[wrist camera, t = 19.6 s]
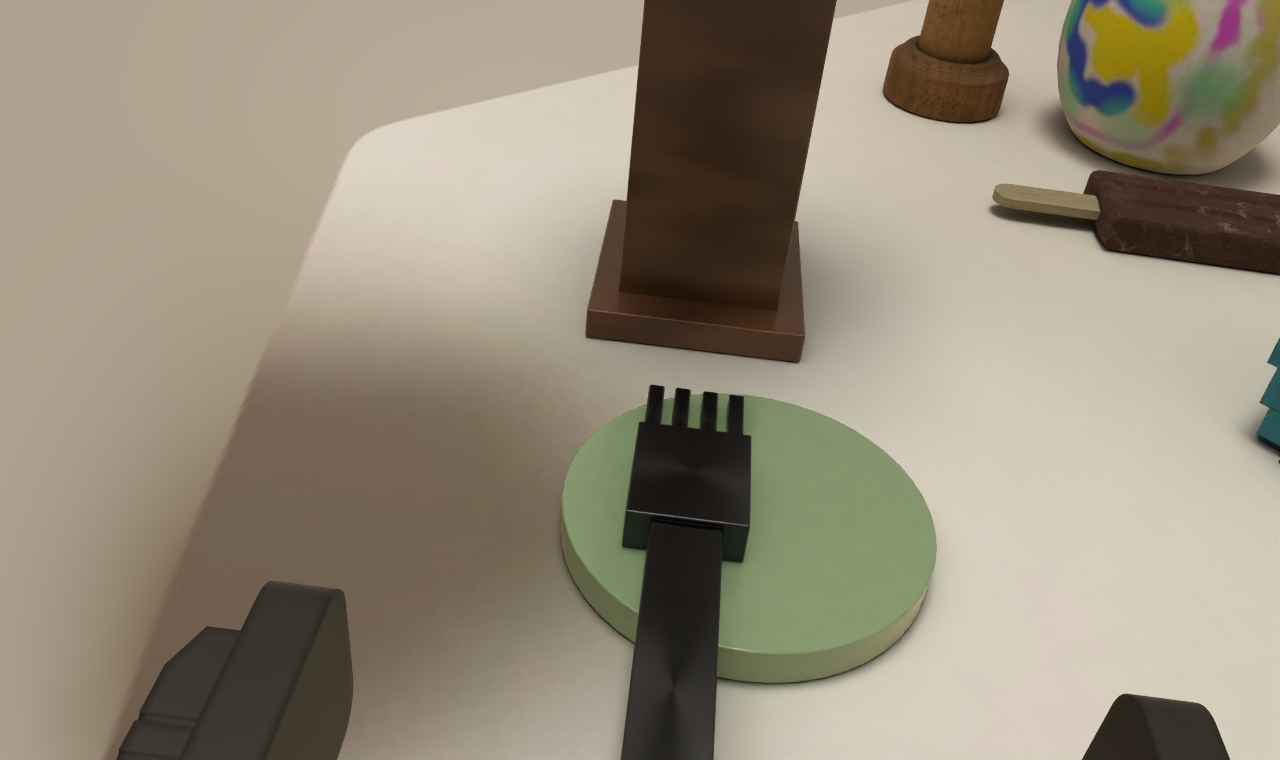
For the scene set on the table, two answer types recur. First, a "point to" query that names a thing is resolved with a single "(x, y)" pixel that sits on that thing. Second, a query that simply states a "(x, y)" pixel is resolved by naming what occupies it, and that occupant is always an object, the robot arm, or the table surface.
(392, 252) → the table surface
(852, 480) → the plate
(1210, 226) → the ice cream bar
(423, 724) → the table surface
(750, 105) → the stand
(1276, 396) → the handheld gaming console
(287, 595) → the robot arm
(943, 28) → the mortar and pestle
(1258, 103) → the decorative egg
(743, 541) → the fork
